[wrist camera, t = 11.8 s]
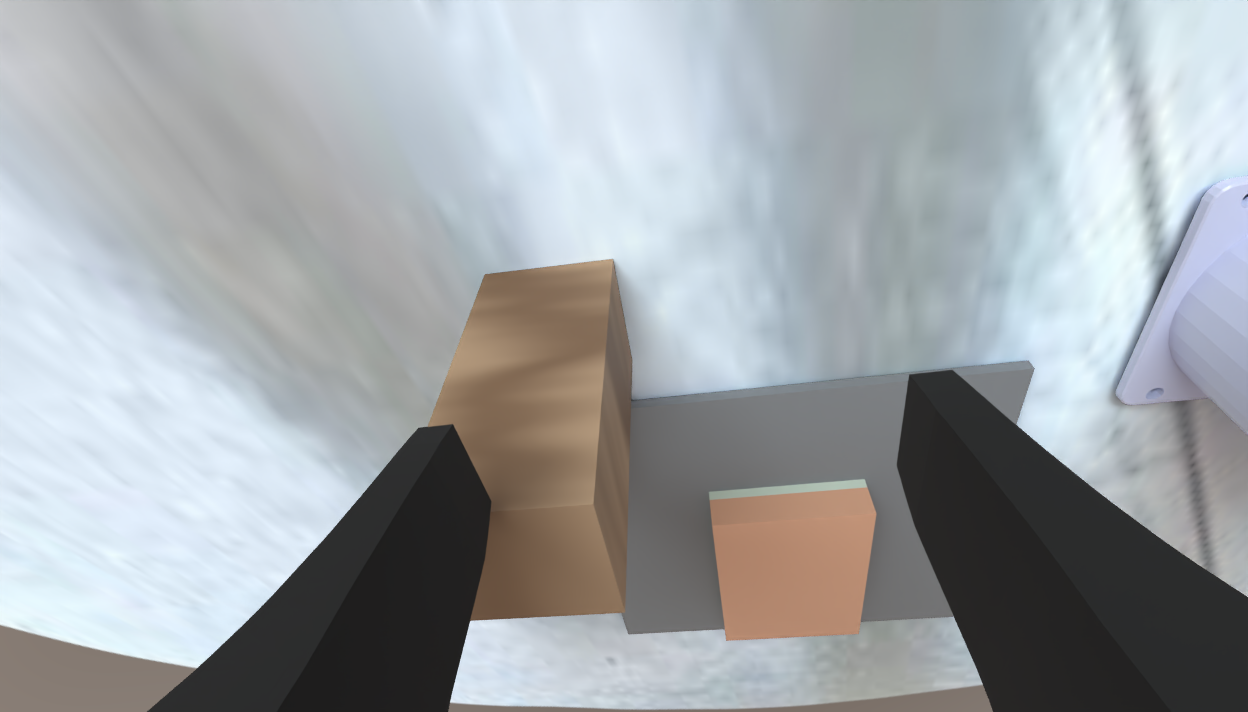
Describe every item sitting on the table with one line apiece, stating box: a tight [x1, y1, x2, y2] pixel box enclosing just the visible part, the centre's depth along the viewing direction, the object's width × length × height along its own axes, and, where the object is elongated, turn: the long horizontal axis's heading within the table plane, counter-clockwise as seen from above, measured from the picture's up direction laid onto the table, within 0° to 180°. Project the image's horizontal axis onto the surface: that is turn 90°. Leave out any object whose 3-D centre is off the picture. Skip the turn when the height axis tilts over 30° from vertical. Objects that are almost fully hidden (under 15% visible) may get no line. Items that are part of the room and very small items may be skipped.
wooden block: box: [428, 259, 632, 621], centre depth 17 cm, size 4×4×9 cm
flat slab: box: [709, 479, 876, 641], centre depth 27 cm, size 6×2×9 cm
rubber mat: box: [622, 361, 1035, 634], centre depth 26 cm, size 16×16×1 cm
